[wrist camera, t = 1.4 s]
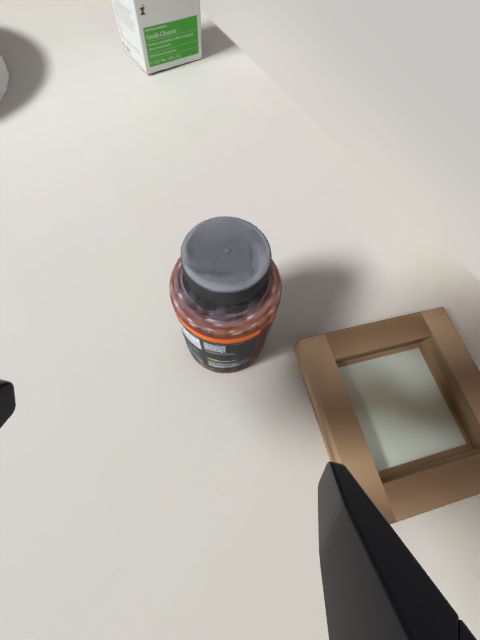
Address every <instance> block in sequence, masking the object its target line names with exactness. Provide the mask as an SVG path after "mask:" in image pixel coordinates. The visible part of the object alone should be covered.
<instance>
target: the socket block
mask: <svg viewBox="0 0 480 640" xmlns="http://www.w3.org/2000/svg"><path fill="white" fill-rule="evenodd" d="M293 349H294V352H295V355H296V358H297V361H298V364H299V367H300V370H301V373H302V376H303V379H304V382H305V385H306V388H307V391H308V394H309V397H310V400H311V403H312V406H313V409H314V412H315V415H316V418H317V421H318V424H319V427H320V430H321V433H322V436H323V439H324V442H325V445H326V448H327V451H328V454H329V457H330V460H331V461H332V462H336V463H340V464H343V465H345V466H346V467H347V469H348V470H349V471H350V473H351V474H352V475H353V477H354V478H355V479H356V481H357V482H358V483H359V485H360V486H361V487H362V489H363V490H364V491H365V493H366V494H367V495H368V497H369V498H370V499H371V501H372V502H373V503H374V504H375V506H376V507H377V508H378V510H379V511H380V512H381V514H382V515H383V516H384V518H385V519H386V520H387V522H388V523H389V524H392V523H395V522H398V521H401V520H404V519H407V518H410V517H413V516H416V515H418V514H421V513H424V512H427V511H430V510H433V509H436V508H439V507H442V506H445V505H448V504H450V503H453V502H456V501H459V500H462V499H465V498H468V497H471V496H474V495H477V494H480V372H479V370H478V368H477V366H476V364H475V363H474V361H473V359H472V357H471V356H470V354H469V352H468V350H467V348H466V347H465V345H464V343H463V341H462V340H461V338H460V336H459V334H458V332H457V331H456V329H455V327H454V325H453V324H452V322H451V320H450V318H449V316H448V315H447V313H446V311H445V309H444V308H443V307H440V308H435V309H431V310H427V311H422V312H418V313H413V314H409V315H404V316H400V317H396V318H391V319H387V320H382V321H378V322H373V323H369V324H365V325H360V326H356V327H351V328H347V329H342V330H338V331H334V332H329V333H325V334H320V335H316V336H312V337H307V338H303V339H299V340H298V342H297V343H296V344H295V346H294V347H293Z"/></svg>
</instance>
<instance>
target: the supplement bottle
mask: <svg viewBox="0 0 480 640" xmlns="http://www.w3.org/2000/svg"><path fill="white" fill-rule="evenodd" d="M271 257H272V256H271V249H270V245H269V243H268V240H267V239H266V237H265V236H264V234H263V233H262V232H261V231H260V230H259V229H258V228H257V227H256V226H254V225H253V224H252V223H250V222H248V221H245V220H243V219H240V218H235V217H215V218H211V219H208V220H205V221H203V222H201V223H199V224H198V225H196V226H195V227H194V228H193V229H192V230H191V231H190V232H189V233H188V234H187V235H186V237H185V239H184V241H183V243H182V247H181V257H180V258H179V259H178V261H177V263H176V264H175V265H174V268H173V271H172V274H171V279H170V297H171V301H172V304H173V307H174V310H175V313H176V315H177V318H178V321H179V323H180V326H181V329H182V332H183V335H184V337H185V340H186V343H187V346H188V348H189V350H190V352H191V354H192V356H193V357H194V358H195V360H196V361H197V362H198V363H199V364H200V365H202V366H203V367H204V368H206V369H209V370H211V371H214V372H218V373H232V372H237V371H240V370H242V369H244V368H246V367H247V366H249V365H250V364H251V363H252V362H253V361H254V360H255V359H256V358H257V357H258V355H259V353H260V352H261V350H262V347H263V345H264V342H265V340H266V337H267V335H268V332H269V330H270V327H271V324H272V322H273V319H274V317H275V314H276V312H277V309H278V306H279V303H280V298H281V290H282V286H281V279H280V274H279V272H278V269H277V267H276V265H275V263H274V261H273V260H272V259H271Z"/></svg>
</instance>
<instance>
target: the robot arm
mask: <svg viewBox="0 0 480 640" xmlns="http://www.w3.org/2000/svg"><path fill="white" fill-rule="evenodd" d="M15 406H16V403H15V394H14V386H13V384H12V383H11V382H9V381H5V380H1V379H0V428H1V427H2V426H3V424H4V423H5V422H6V421H7V420H8V418H9V417H10V416H11V415H12V414H13V412H14V410H15ZM318 523H319V555H320V566H321V574H322V583H323V591H324V599H325V608H326V616H327V625H328V633H329V640H477V639H476V638H475V637H474V635H473V634H472V633H471V631H470V630H469V629H468V627H467V626H466V625H465V624H464V622H463V621H462V620H459V617H458V615H457V613H456V612H455V610H454V609H453V608H452V607H451V605H450V604H449V603H448V601H447V600H446V599H445V597H444V596H443V595H442V593H441V592H440V591H439V589H438V588H437V587H436V585H435V584H434V583H433V581H432V580H431V579H430V577H429V576H428V575H427V573H426V572H425V571H424V569H423V568H422V567H421V565H420V564H419V563H418V561H417V560H416V559H415V557H414V556H413V555H412V554H411V552H410V551H409V550H408V548H407V547H406V546H405V544H404V543H403V542H402V540H401V539H400V538H399V536H398V535H397V534H396V532H395V531H394V530H393V528H392V527H391V526H390V524H389V523H388V522H387V520H386V519H385V518H384V516H383V515H382V514H381V512H380V511H379V510H378V508H377V507H376V506H375V504H374V503H373V502H372V501H371V499H370V498H369V497H368V495H367V494H366V493H365V491H364V490H363V489H362V487H361V486H360V485H359V483H358V482H357V481H356V479H355V478H354V477H353V475H352V474H351V473H350V471H349V470H348V469H347V467H346V466H345V465H343V464H340V463H336V462H332V461H330V462H328V463H327V465H326V467H325V470H324V472H323V474H322V476H321V479H320V481H319V485H318Z"/></svg>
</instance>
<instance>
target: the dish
mask: <svg viewBox="0 0 480 640" xmlns="http://www.w3.org/2000/svg"><path fill="white" fill-rule="evenodd" d="M8 80H9V72H8V70H7V67H6V64H5V61H4V59H3V57H2V56H1V54H0V101H1V99H2V97H3V96H4V94H5V92H6V91H7V86H8Z"/></svg>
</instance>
